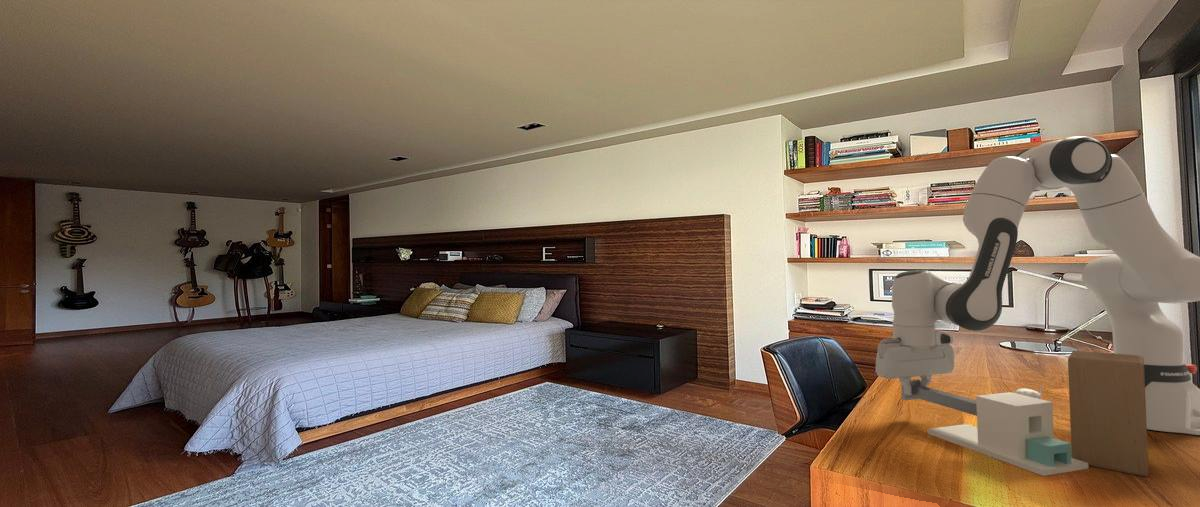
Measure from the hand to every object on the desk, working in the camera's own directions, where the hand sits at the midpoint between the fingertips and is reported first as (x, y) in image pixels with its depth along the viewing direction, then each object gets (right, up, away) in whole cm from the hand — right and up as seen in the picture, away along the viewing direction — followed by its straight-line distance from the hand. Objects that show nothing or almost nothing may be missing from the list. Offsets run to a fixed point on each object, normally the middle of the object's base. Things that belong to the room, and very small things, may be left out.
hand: (915, 394), depth 125 cm
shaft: (+3, -1, -10) cm, 11 cm away
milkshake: (+21, -6, -9) cm, 23 cm away
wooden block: (+20, -6, -27) cm, 34 cm away
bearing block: (+5, -6, -20) cm, 21 cm away
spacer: (+7, -3, -29) cm, 30 cm away
